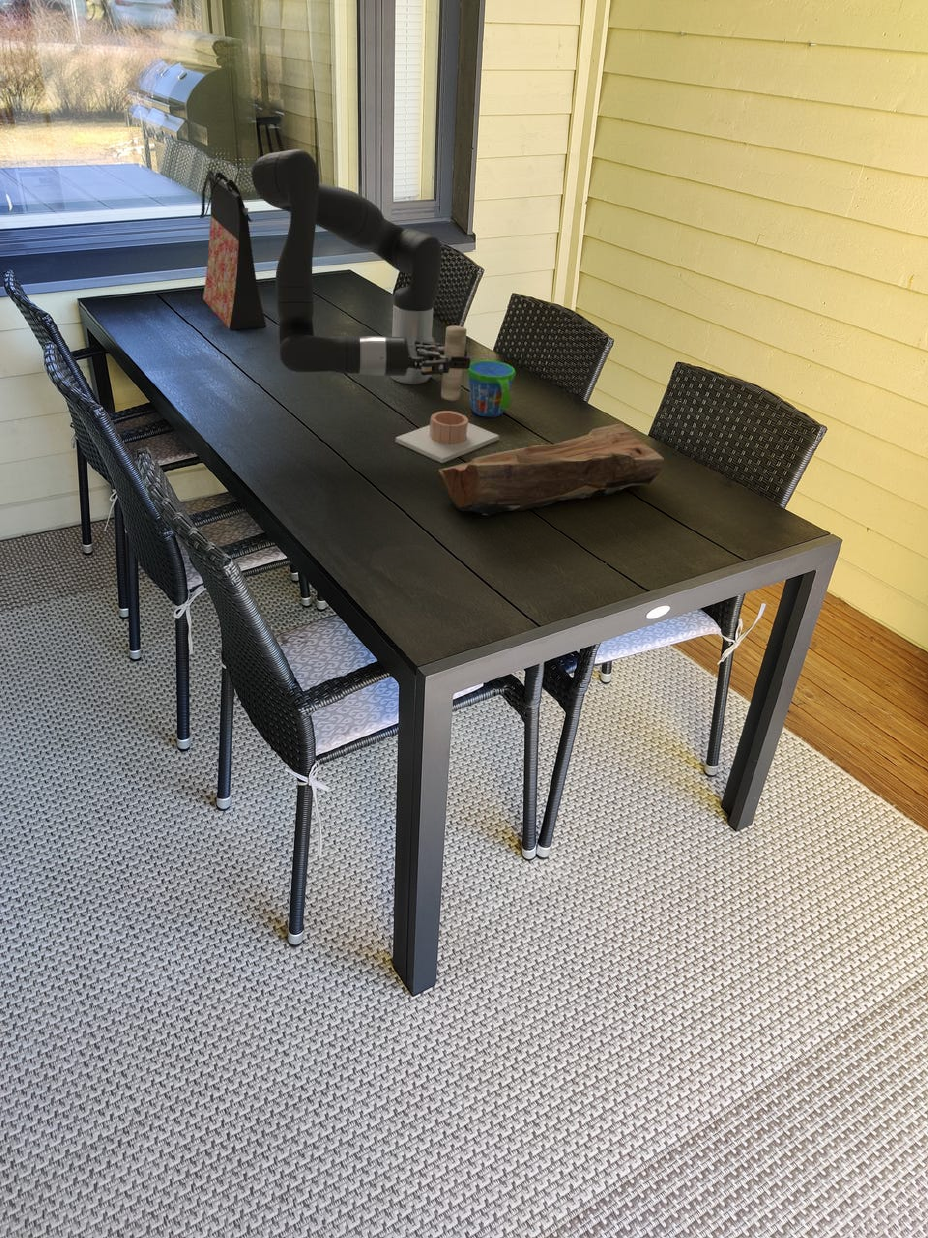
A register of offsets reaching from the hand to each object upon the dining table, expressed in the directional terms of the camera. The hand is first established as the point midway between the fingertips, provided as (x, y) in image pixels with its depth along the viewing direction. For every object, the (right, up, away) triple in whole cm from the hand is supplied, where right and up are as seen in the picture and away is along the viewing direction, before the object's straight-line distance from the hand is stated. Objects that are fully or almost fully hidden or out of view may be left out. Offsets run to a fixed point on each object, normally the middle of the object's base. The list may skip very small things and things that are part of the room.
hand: (467, 358), depth 196 cm
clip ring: (-4, -14, +9) cm, 17 cm away
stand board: (-4, -15, +10) cm, 18 cm away
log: (+15, -28, -7) cm, 33 cm away
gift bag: (-62, +29, +65) cm, 94 cm away
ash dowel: (-3, -7, +4) cm, 8 cm away
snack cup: (+4, -6, +25) cm, 26 cm away
